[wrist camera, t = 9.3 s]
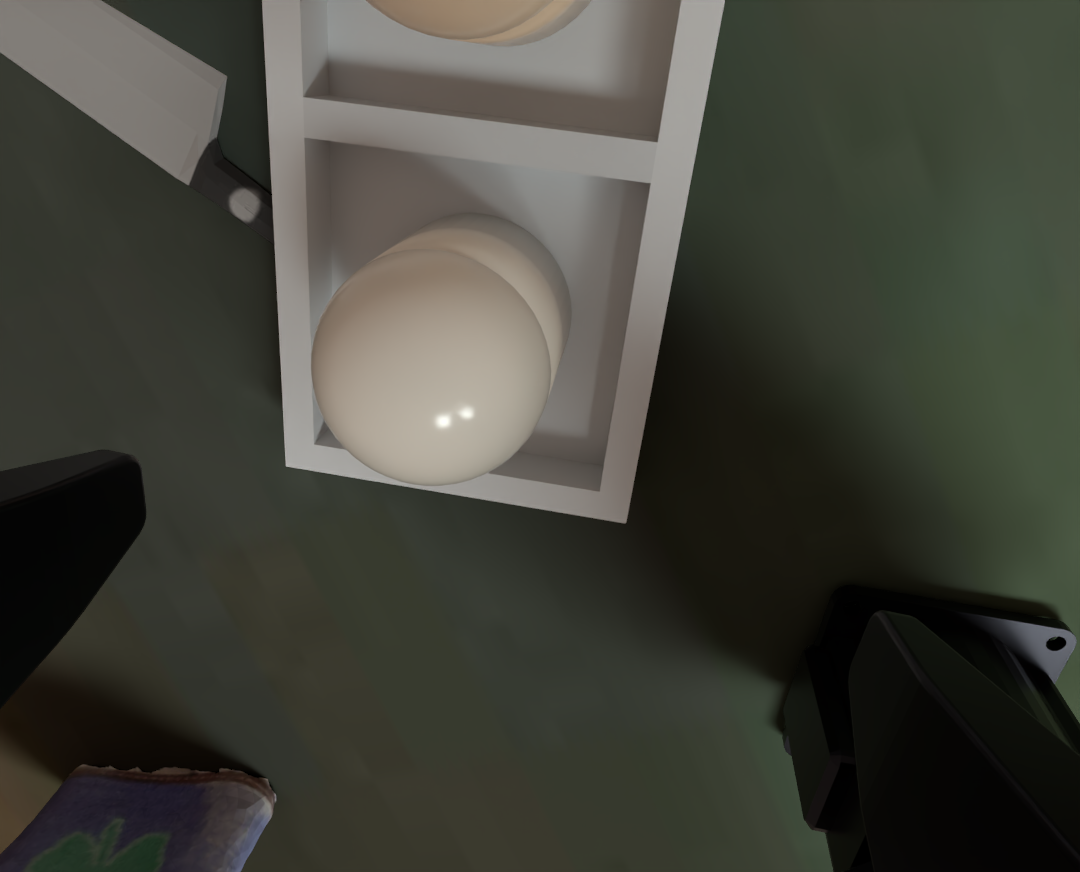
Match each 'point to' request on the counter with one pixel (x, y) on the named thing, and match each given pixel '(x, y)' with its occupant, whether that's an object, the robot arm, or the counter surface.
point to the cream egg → (443, 350)
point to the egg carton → (494, 202)
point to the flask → (145, 822)
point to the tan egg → (484, 18)
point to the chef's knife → (135, 93)
